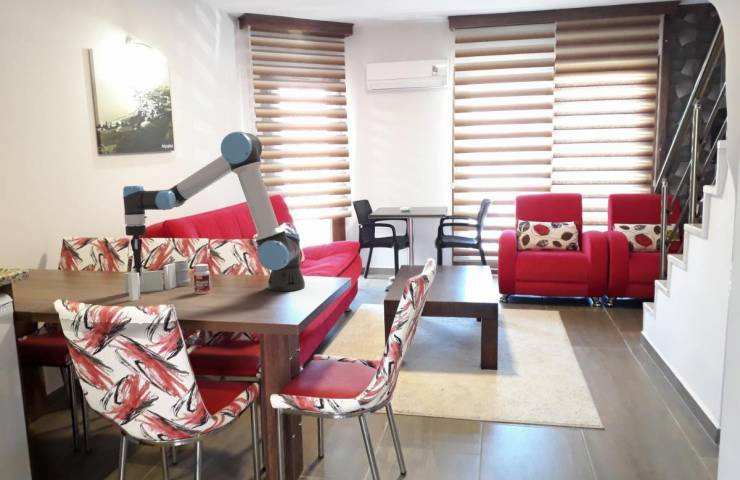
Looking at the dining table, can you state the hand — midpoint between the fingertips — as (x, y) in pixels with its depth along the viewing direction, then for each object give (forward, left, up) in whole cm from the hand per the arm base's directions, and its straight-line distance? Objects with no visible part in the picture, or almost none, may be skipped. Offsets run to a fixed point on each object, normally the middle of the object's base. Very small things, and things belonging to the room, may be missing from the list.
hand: (139, 283), depth 229 cm
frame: (-6, -1, -4) cm, 7 cm away
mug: (-4, -19, -4) cm, 20 cm away
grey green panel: (0, -3, -4) cm, 5 cm away
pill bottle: (-24, -8, -4) cm, 26 cm away
